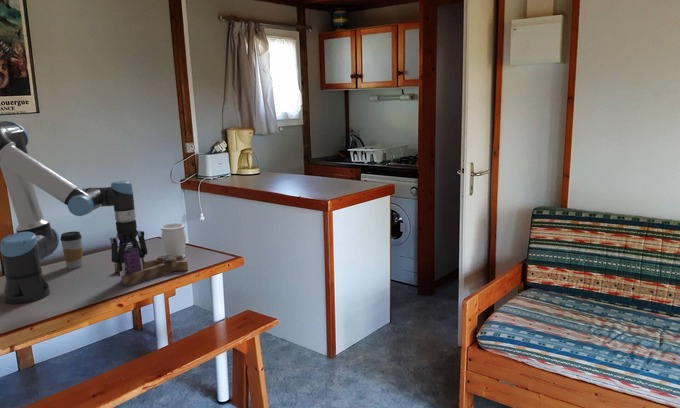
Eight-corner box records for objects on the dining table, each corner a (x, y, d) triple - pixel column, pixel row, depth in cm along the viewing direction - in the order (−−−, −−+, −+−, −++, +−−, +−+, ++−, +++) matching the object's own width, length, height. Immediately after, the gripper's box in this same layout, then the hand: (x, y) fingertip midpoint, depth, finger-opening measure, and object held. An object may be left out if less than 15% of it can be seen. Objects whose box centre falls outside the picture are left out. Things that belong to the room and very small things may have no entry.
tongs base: (125, 287, 204) (124, 276, 203) (116, 284, 208) (115, 273, 207) (189, 265, 227) (188, 256, 226) (180, 263, 231) (179, 254, 230)
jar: (186, 260, 235) (183, 227, 232) (162, 262, 233) (158, 229, 230) (188, 253, 245) (185, 222, 242) (165, 255, 244) (162, 223, 241)
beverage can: (129, 273, 217) (126, 245, 214) (145, 274, 216) (142, 245, 213) (119, 279, 210) (115, 250, 208) (135, 280, 209) (131, 251, 206)
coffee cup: (89, 263, 235) (85, 231, 232) (78, 269, 227) (73, 236, 224) (71, 263, 236) (67, 231, 233) (60, 269, 227) (55, 236, 224)
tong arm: (112, 275, 217) (111, 263, 216) (116, 270, 223) (115, 258, 222) (187, 270, 221) (186, 258, 220) (189, 265, 227) (188, 253, 226)
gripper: (106, 226, 198) (114, 284, 203) (153, 216, 214) (159, 270, 218) (96, 224, 203) (103, 280, 207) (142, 214, 218) (148, 266, 223)
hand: (132, 275), depth 213 cm, fingers closed on beverage can, 7 cm apart
